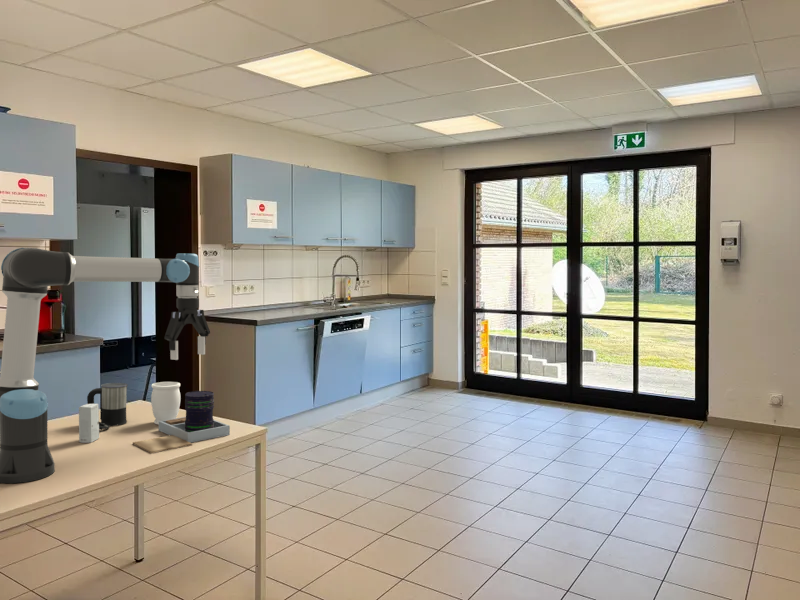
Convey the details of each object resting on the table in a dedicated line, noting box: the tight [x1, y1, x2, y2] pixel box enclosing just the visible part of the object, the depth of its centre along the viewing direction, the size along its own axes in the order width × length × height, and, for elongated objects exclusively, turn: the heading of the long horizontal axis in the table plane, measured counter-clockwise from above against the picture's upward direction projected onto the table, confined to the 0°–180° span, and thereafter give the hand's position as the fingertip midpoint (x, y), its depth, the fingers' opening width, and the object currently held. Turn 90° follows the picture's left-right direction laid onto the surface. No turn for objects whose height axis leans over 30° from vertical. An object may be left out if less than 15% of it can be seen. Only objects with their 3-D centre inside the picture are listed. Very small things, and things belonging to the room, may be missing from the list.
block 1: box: [166, 419, 181, 425], centre depth 226 cm, size 4×4×4 cm
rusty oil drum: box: [184, 390, 215, 432], centre depth 221 cm, size 10×10×15 cm
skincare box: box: [78, 403, 100, 444], centre depth 212 cm, size 6×4×12 cm
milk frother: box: [86, 382, 129, 431], centre depth 231 cm, size 14×16×15 cm
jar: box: [150, 381, 181, 426], centre depth 237 cm, size 11×10×15 cm
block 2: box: [178, 416, 186, 423], centre depth 229 cm, size 4×4×4 cm
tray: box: [158, 416, 231, 443], centre depth 225 cm, size 16×22×3 cm
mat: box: [132, 435, 193, 454], centre depth 209 cm, size 14×14×1 cm
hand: (188, 356), depth 221 cm, fingers open, 13 cm apart
